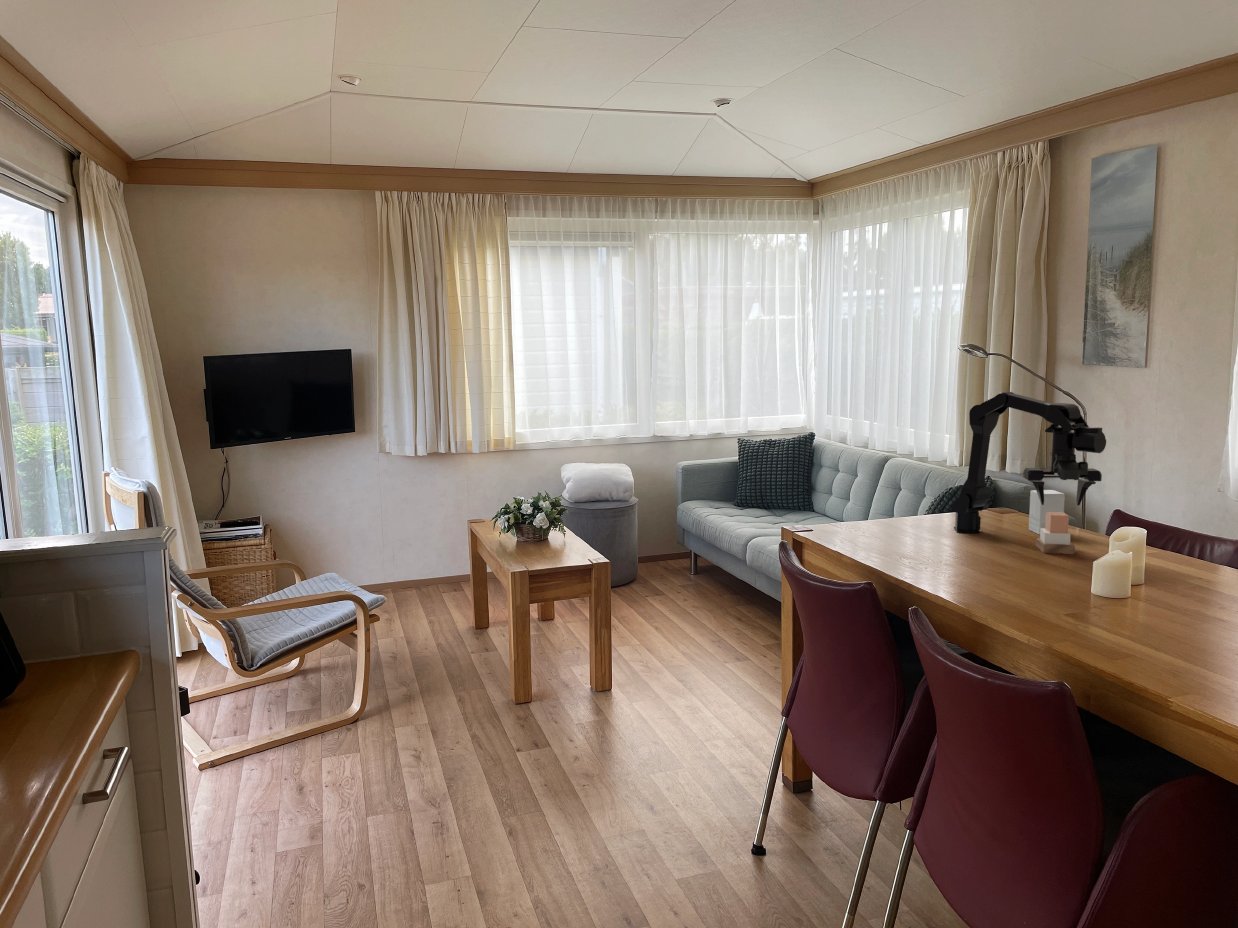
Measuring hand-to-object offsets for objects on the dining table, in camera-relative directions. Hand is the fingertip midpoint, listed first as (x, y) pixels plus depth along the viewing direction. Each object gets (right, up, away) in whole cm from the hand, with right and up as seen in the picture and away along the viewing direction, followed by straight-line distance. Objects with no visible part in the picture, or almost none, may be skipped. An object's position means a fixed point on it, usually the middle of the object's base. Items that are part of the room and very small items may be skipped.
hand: (1060, 505), depth 240 cm
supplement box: (+8, -10, +24) cm, 27 cm away
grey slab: (0, -10, +2) cm, 11 cm away
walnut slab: (0, -13, +3) cm, 14 cm away
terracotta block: (0, -7, +2) cm, 8 cm away
